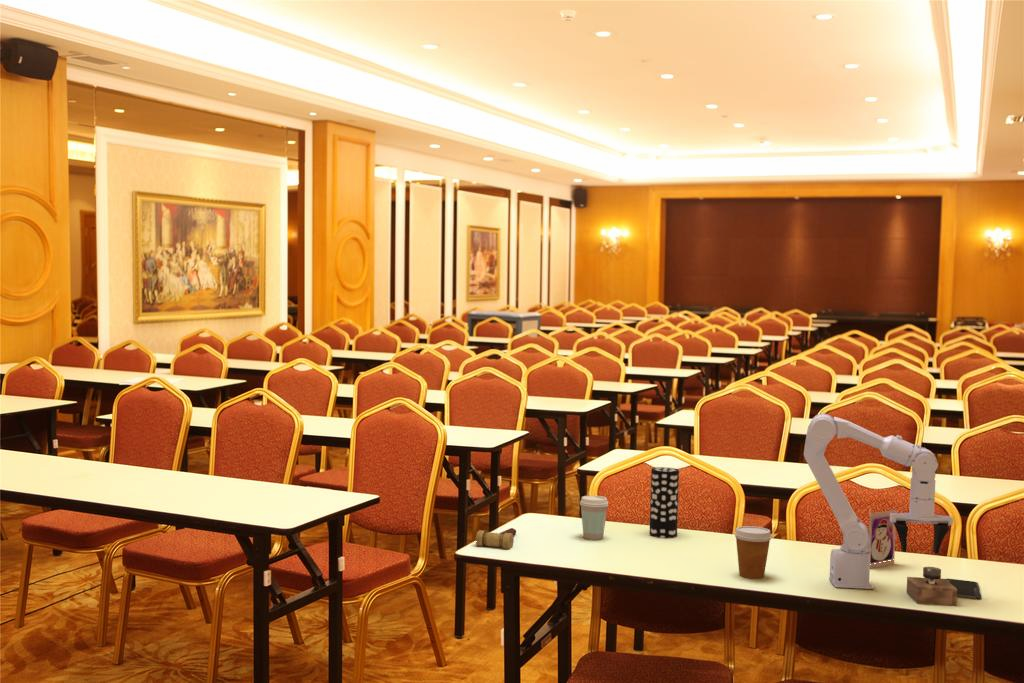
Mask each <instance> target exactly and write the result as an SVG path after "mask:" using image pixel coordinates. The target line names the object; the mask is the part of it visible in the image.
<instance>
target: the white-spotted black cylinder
mask: <svg viewBox="0 0 1024 683" xmlns="http://www.w3.org/2000/svg"><path fill="white" fill-rule="evenodd" d="M650 470H651V471H650V473H651V474H650V501H649V502H650V509H649V535H650V536H651V537H654V538H659V539H674V538H676V537H677V536H678V520H679V517H678V514H679V491H680V490H679V489H680V488H679V487H680V486H679V485H680V484H679V483H680V470H679V469H678V468H674V467H665V466H663V467H662V466H661V467H660V466H659V467H651V469H650Z"/></svg>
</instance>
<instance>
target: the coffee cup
mask: <svg viewBox="0 0 1024 683" xmlns="http://www.w3.org/2000/svg"><path fill="white" fill-rule="evenodd" d="M580 499H581V500H580V501H579V504H580V509H581V510H580V512H581V524H582V533H583V534H582V536H583V538H584V539H586V540H588V541H589V540H590V541H599V540H603V539H604V536H605V535H604V533H605V526H606V520H607V513H608V506H609V501H608V498H607V497H606V496H603V495H602V496H601V495H594V494H593V495H584V496H581V498H580Z"/></svg>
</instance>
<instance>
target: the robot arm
mask: <svg viewBox="0 0 1024 683" xmlns="http://www.w3.org/2000/svg"><path fill="white" fill-rule="evenodd" d="M835 436H836V438H837V439H845V438H850V439H853V440H856V441H858V442H861V443H863V444H866V445H868V446H871V447H873V448H876V449H878V450H879V451H880V453H881V456H882V457H883V458H885V459H889V460H891V461H893V462H895V463H898V464H901V465H902V466H905V467H912V468H911V477H910V486H909V487H910V490H909V507H908V508H909V510H908V511H909V512H896V513H890V521H891V522H893V523H894V525H895V528H896V529H895V531H896V532H897V535H898V539H899V543H900V549H901V551H902V552H903V553H907V547H908V546H907V543H908V541H907V538H908V532H909V531H908V530H909V526H908V524H907V523H909V524H910V523H912V524H913V523H914V524H929V525H931V524H932V526H933V545H932V552H933V553H934V554H935V555H939V554H940V553H939V552H940V549H941V545H942V543H943V541H944V539H945V537H946V535H947V533H949V530H950V526H953V523H954V517H952V516H950V515H941V514H935V501H936V500H935V499H936V482H937V481H936V471H937V470H938V467H939V463H938V459H937V457H936V456H935V455H934V453H933V452H932V451H931V450H930V449H927V448H926V447H922V446H921V444H918V443H917V444H913V443H911V442H908V441H906V440H904V439H903V437H902V436H901V435H898V434H897V435H896V436H894V435H889V436H886V437H884V436H882V435H880V434H878V433H875V432H873V431H870V430H869V429H866V428H864V427H862V426H860V425H858V424H855V423H853V422H852V421H850V420H846V419H844V418H841V417H837V416H834V417H833V416H832V415H830V414H827V413H819V414H816V415H815V416H813V417H812V419H811V421H810V422H809V425H808V426H807V430H806V437H805V442H804V448H803V457H804V459H805V461H806V463H807V465H808V467H809V468H810V471H811V472H812V474H813V476H814V479H815V480H816V482H817V484H818V486H819V487H820V490H821V493H822V494H823V497H824V498H825V499H826V501H827V503H828V505H829V507H830V509H831V511H832V512H833V515H834V517H835V519H836V520H837V521H836V522H837V523H838V526H839V528H840V530H841V532H842V536H843V537H842V540H843V541H842V542H843V543H842V544H840V547H839V548H832V549H831V551H830V558H829V560H830V561H829V577H828V580H829V581H830V583H831V584H832V585H833V586H834V587H835V588H843V589H845V588H846V589H861V590H863V589H864V590H866V589H867V590H874V589H875V587H874V586H873V585H872V583H871V582H870V572H871V570H870V569H871V568H870V548H868V546H869V543H870V537H869V527H867V525H866V524H865V523H864V522H863V521H862V520H860V519H859V518H858V516H857V514H856V512H855V510H854V509H853V507H852V506H851V504H850V502H849V500H848V498H847V496H846V494H845V492H844V490H843V489H842V487H841V485H840V482H839V481H838V479H837V476H836V475H835V473H834V471H833V470H832V467H831V466H830V464H829V462H828V460H827V458H826V456H825V452H826V451H827V450H826V449H827V447H828V444H829V443H830V442H831V441H832V440H833V439H834V438H835Z"/></svg>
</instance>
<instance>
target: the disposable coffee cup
mask: <svg viewBox="0 0 1024 683" xmlns="http://www.w3.org/2000/svg"><path fill="white" fill-rule="evenodd" d="M733 533H734V534H733V535H734V536H735V540H736V541H735V542H736V551H737V562H738V574H739V576H740V577H743V578H747V579H762V578H764V576H765V572H766V567H767V565H766V564H767V562H768V561H767V560H768V555H769V550H770V548H769V547H770V542H771V540H772V537H773V536H772V534H771V530H770V529H768V528H766V527H762V526H753V525H752V526H751V525H745V526H744V525H743V526H738V527H736V528H735V532H733Z"/></svg>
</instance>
